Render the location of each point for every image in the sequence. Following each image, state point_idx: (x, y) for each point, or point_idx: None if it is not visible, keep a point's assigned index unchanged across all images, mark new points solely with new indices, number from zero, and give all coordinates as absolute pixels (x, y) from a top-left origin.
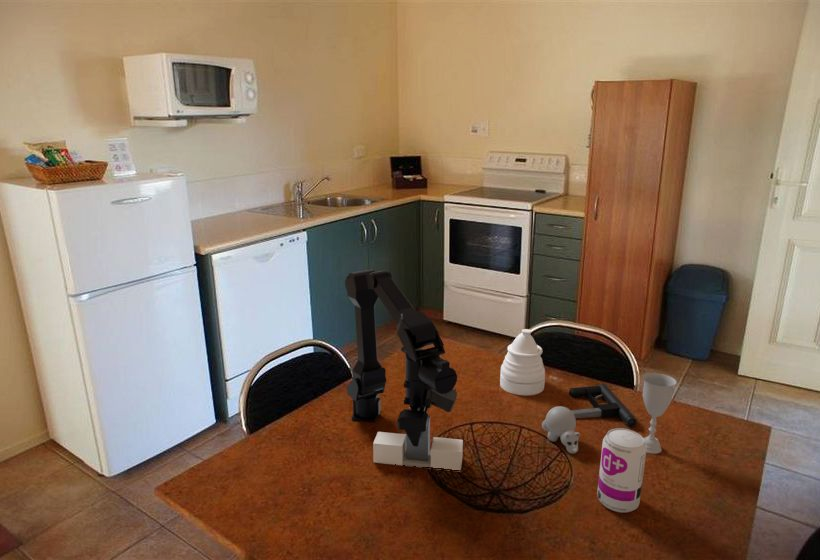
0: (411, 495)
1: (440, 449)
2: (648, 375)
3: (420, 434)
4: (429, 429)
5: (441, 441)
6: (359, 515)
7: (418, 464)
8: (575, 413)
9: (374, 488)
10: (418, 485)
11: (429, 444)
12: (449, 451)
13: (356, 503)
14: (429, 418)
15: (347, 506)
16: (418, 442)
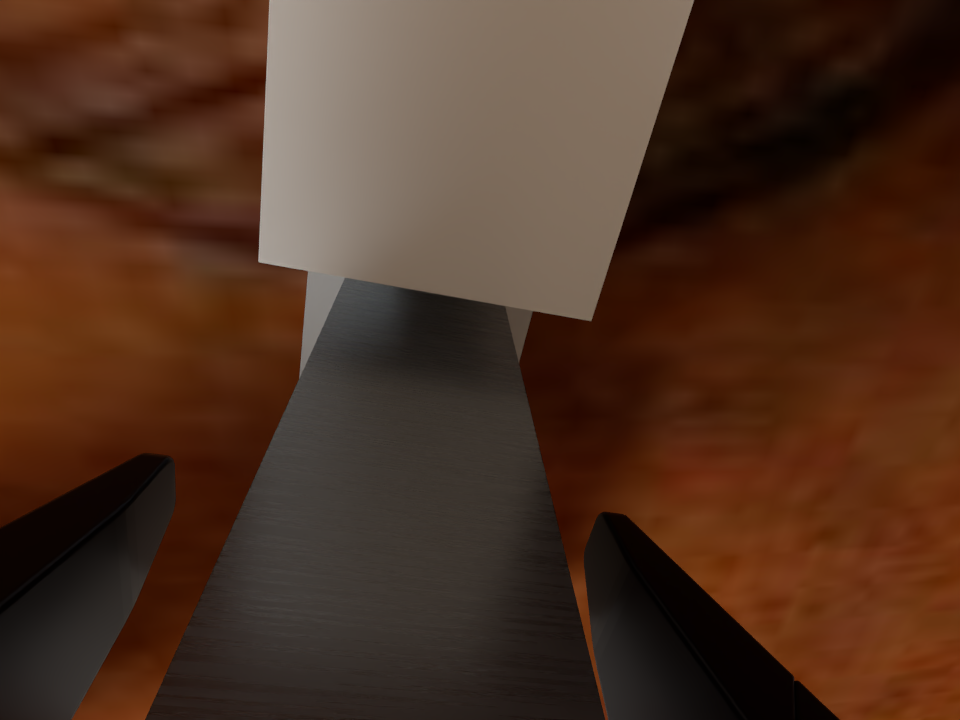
0: (871, 395)
1: (623, 177)
2: None
3: (745, 677)
4: (357, 449)
5: (386, 140)
6: (938, 642)
7: (517, 353)
8: None
9: (724, 599)
10: (767, 344)
11: (373, 303)
12: (687, 13)
13: (833, 662)
14: (315, 716)
15: (843, 691)
16: (678, 566)
